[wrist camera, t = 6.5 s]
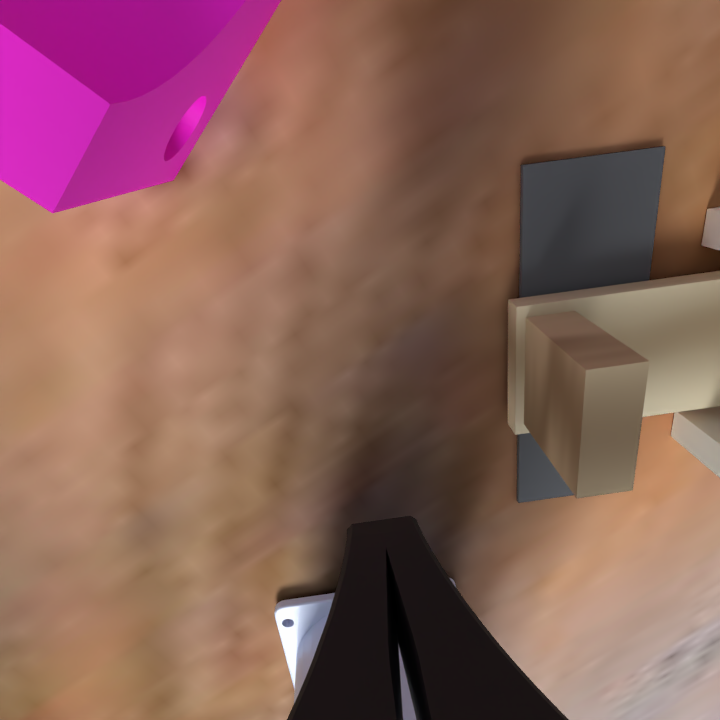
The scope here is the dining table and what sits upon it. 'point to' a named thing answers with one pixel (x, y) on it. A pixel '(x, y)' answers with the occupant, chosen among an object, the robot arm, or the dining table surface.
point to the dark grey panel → (582, 250)
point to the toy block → (113, 90)
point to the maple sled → (610, 370)
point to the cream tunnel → (708, 425)
